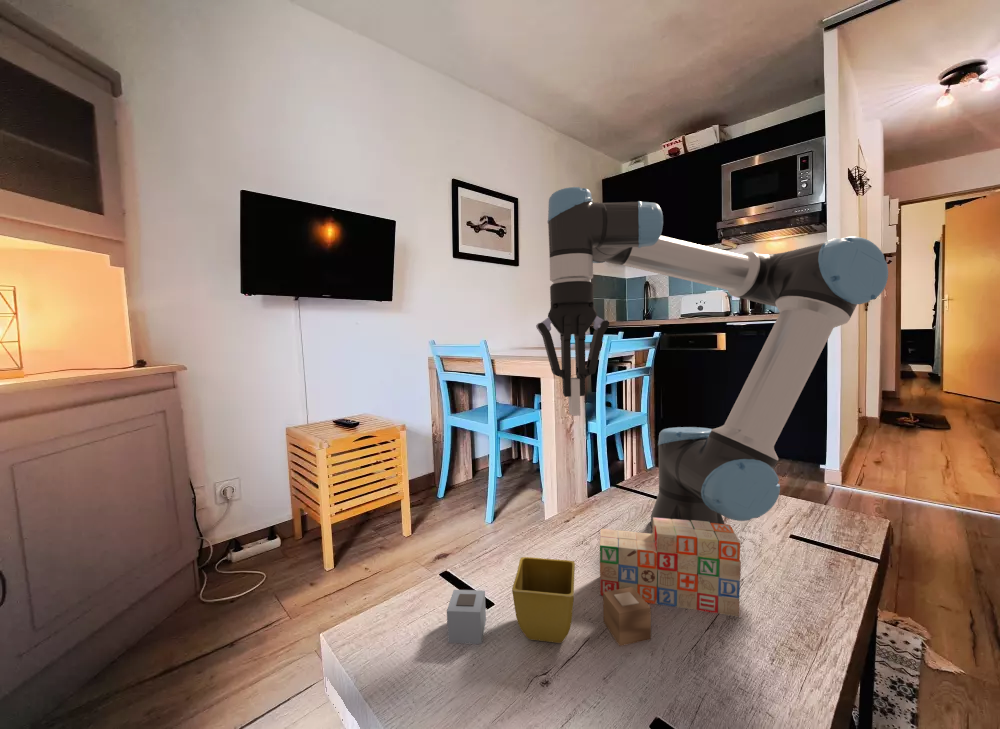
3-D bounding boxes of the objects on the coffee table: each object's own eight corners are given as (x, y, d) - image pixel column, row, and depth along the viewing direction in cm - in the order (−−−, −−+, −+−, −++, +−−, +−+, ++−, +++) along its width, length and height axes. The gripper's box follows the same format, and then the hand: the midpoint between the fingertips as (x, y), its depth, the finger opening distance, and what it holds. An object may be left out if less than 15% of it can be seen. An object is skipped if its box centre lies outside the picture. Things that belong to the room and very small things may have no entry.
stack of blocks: (599, 597, 70) (598, 527, 69) (601, 576, 76) (600, 511, 75) (740, 617, 64) (741, 541, 63) (729, 592, 70) (730, 522, 69)
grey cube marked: (486, 620, 65) (484, 589, 64) (481, 644, 60) (480, 611, 60) (455, 619, 65) (453, 588, 65) (448, 643, 60) (446, 610, 60)
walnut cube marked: (632, 617, 65) (632, 585, 64) (650, 640, 60) (650, 606, 59) (603, 622, 64) (603, 591, 63) (619, 646, 59) (619, 612, 58)
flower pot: (575, 657, 57) (573, 595, 56) (513, 649, 59) (511, 589, 58) (576, 614, 66) (575, 560, 65) (522, 608, 67) (520, 556, 67)
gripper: (601, 283, 76) (603, 408, 78) (531, 285, 75) (535, 411, 77) (614, 278, 69) (616, 416, 70) (537, 280, 68) (541, 420, 70)
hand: (574, 414), depth 74 cm, fingers closed
